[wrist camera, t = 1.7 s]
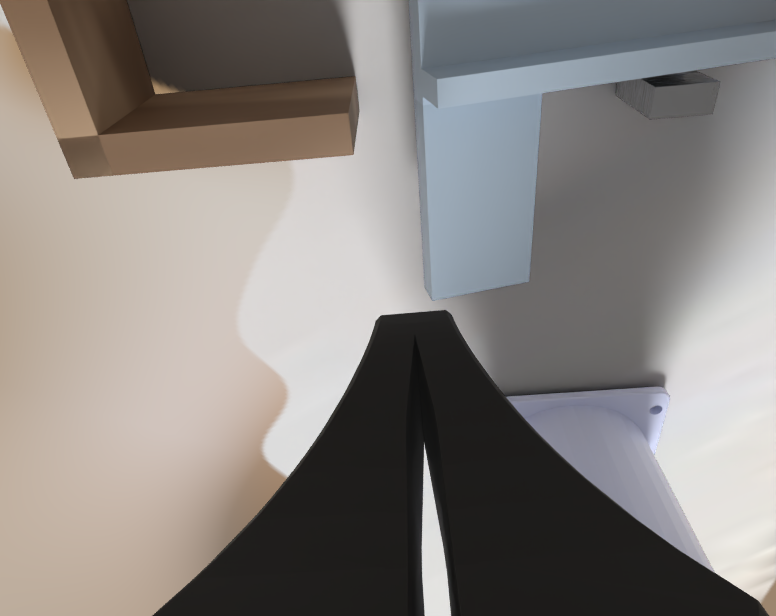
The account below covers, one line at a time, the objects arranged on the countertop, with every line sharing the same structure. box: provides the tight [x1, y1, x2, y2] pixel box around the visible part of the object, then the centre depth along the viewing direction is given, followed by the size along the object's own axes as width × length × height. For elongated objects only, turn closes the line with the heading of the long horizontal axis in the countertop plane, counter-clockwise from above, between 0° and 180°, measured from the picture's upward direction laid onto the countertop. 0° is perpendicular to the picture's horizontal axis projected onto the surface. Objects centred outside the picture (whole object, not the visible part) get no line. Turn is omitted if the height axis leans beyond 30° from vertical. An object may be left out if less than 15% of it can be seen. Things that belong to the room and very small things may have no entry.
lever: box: [409, 0, 776, 301], centre depth 13 cm, size 12×14×3 cm
